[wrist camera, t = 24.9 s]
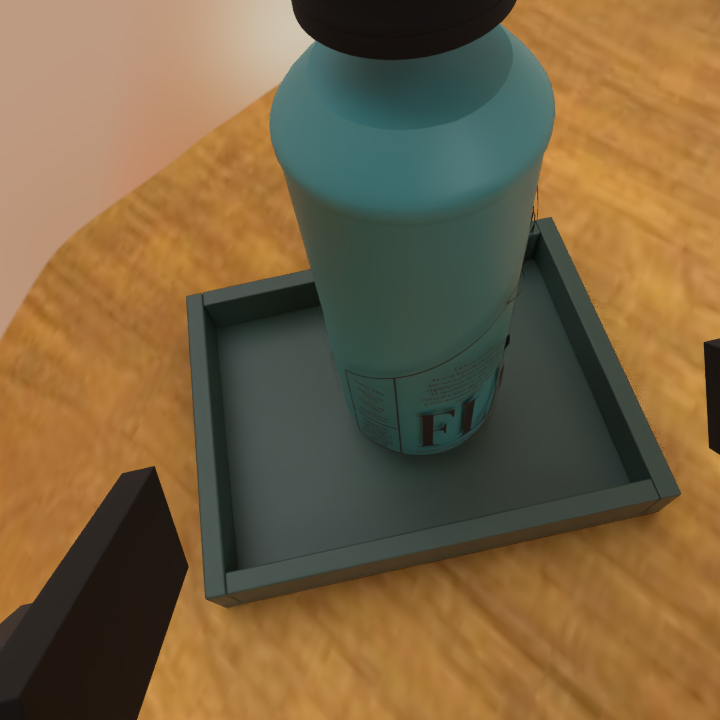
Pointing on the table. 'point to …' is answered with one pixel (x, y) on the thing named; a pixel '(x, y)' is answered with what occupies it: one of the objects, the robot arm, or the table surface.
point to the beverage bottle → (414, 201)
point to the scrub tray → (395, 470)
